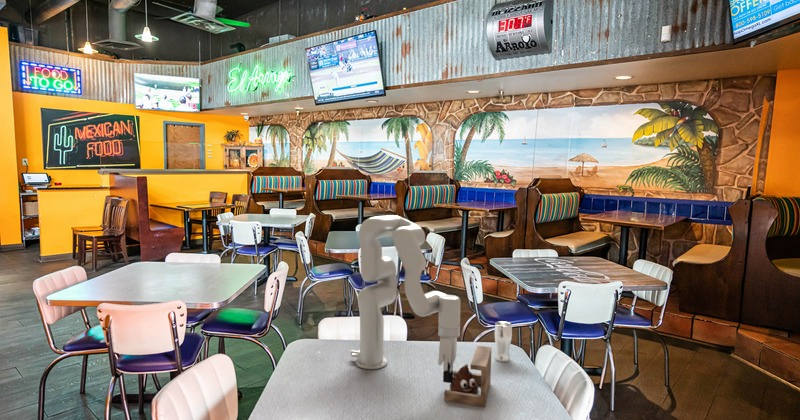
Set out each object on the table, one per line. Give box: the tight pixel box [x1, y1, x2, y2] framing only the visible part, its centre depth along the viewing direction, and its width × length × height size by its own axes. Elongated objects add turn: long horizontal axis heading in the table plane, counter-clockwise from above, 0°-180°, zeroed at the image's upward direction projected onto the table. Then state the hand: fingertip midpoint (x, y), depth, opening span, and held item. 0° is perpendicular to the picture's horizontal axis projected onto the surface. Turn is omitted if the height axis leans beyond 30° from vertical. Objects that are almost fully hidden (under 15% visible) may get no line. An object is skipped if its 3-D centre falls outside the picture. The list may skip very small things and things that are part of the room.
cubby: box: [443, 345, 492, 408], centre depth 155 cm, size 14×18×14 cm
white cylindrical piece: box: [494, 320, 513, 363], centre depth 184 cm, size 7×7×15 cm
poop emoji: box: [449, 363, 479, 394], centre depth 156 cm, size 10×8×9 cm
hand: (448, 381), depth 157 cm, fingers closed
